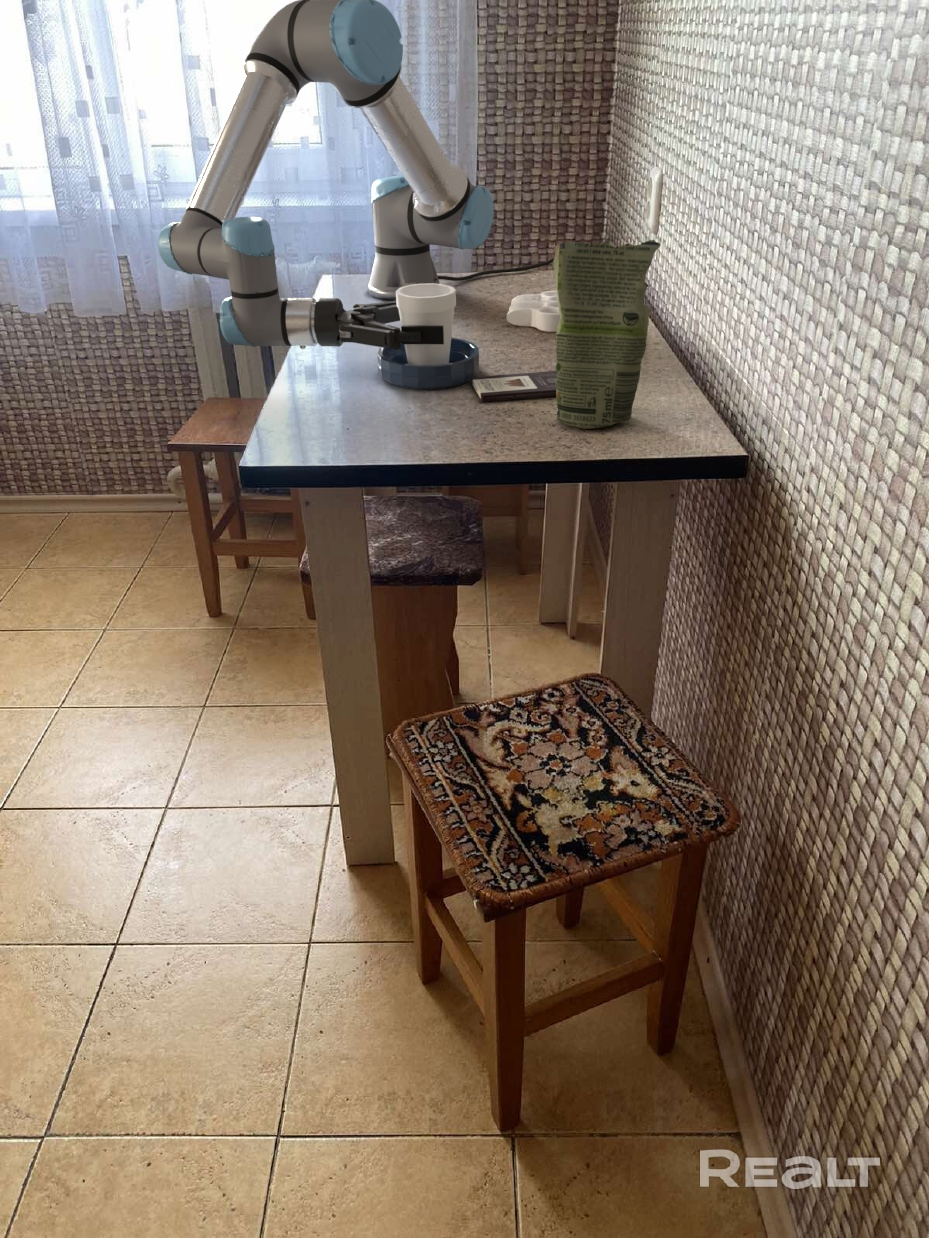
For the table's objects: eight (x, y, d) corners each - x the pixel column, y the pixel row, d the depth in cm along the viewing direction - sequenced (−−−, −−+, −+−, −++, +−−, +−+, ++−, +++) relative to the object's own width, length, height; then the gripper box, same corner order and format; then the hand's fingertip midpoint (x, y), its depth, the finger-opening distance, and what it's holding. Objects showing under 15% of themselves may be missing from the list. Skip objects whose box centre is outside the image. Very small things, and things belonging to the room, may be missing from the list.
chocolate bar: (595, 386, 147) (482, 395, 144) (594, 392, 147) (482, 401, 145) (578, 369, 154) (471, 377, 152) (578, 374, 155) (471, 383, 152)
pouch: (539, 417, 139) (544, 238, 125) (597, 399, 145) (608, 226, 131) (592, 439, 131) (604, 251, 118) (651, 419, 137) (668, 238, 124)
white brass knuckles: (513, 306, 192) (585, 307, 191) (504, 331, 177) (583, 332, 176) (513, 289, 191) (586, 290, 189) (505, 313, 176) (583, 314, 174)
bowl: (442, 353, 166) (441, 330, 164) (499, 377, 155) (499, 353, 153) (360, 372, 158) (358, 348, 156) (414, 398, 147) (413, 373, 145)
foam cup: (450, 381, 151) (448, 298, 144) (394, 379, 153) (389, 297, 146) (461, 363, 159) (460, 284, 152) (408, 361, 161) (404, 282, 154)
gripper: (334, 324, 166) (454, 325, 164) (303, 369, 145) (440, 370, 143) (330, 280, 162) (453, 280, 160) (297, 320, 141) (439, 320, 139)
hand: (447, 323), depth 152 cm, fingers open, 13 cm apart
